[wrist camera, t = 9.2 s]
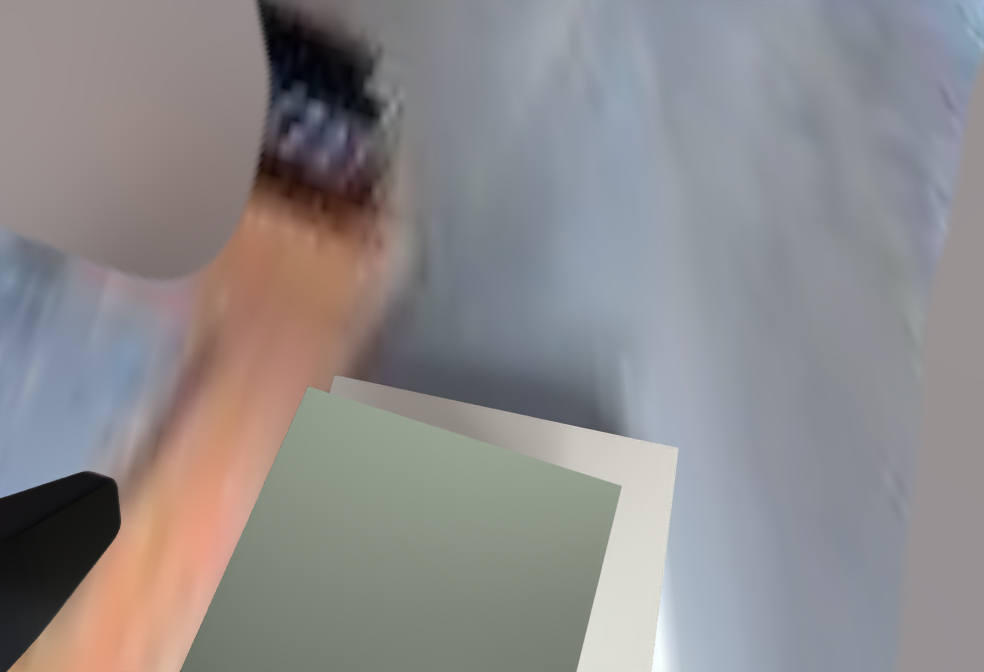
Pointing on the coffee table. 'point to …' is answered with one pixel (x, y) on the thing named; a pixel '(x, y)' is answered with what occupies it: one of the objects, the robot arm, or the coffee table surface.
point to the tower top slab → (617, 459)
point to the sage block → (407, 554)
